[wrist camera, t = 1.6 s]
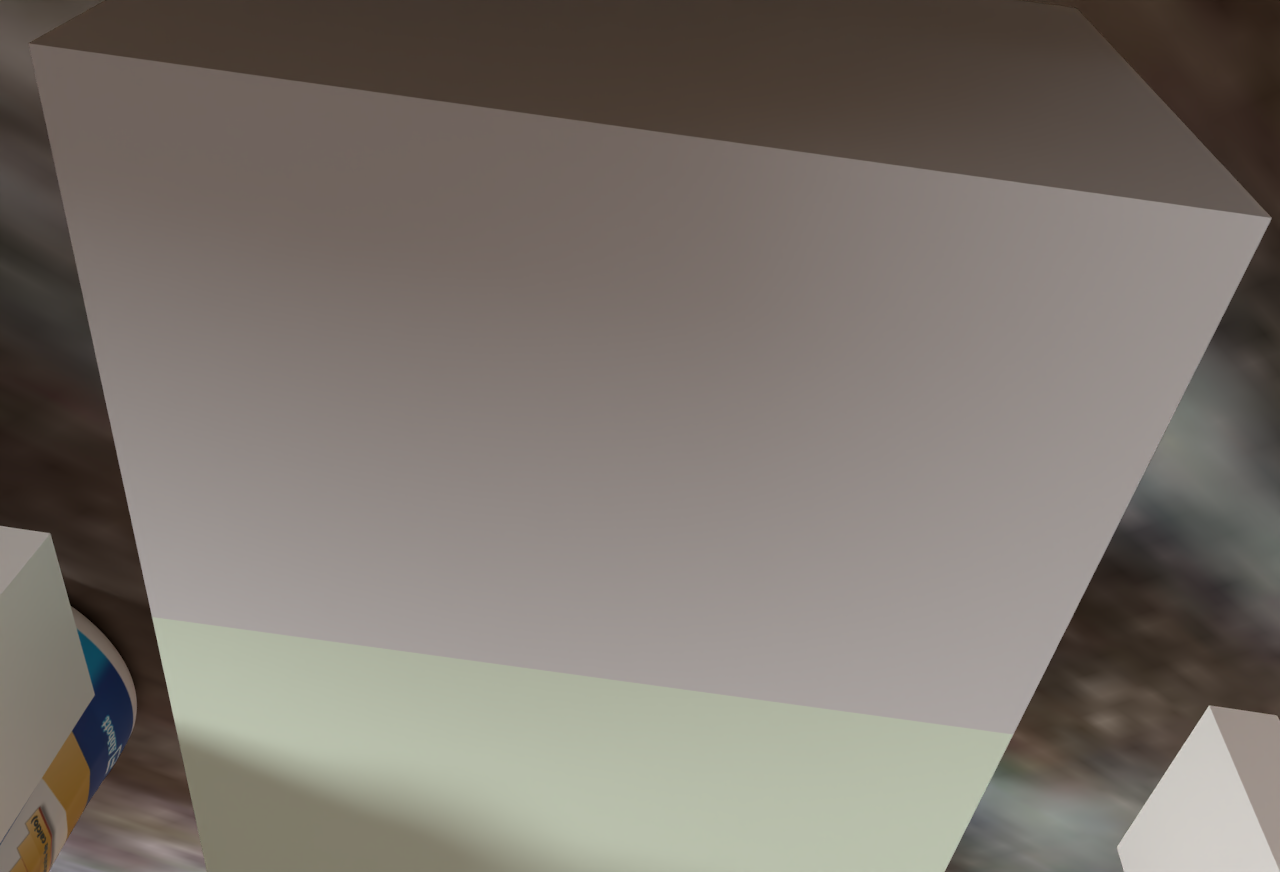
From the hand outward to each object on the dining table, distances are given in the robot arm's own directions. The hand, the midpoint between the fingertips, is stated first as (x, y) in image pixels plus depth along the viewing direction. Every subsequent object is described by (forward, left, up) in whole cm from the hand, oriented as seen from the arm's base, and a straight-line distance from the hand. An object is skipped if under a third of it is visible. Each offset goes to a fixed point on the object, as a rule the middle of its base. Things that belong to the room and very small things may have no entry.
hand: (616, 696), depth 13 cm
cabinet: (0, +2, -10) cm, 10 cm away
